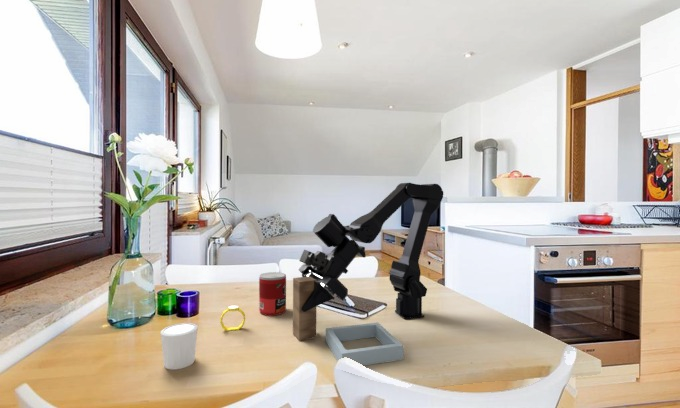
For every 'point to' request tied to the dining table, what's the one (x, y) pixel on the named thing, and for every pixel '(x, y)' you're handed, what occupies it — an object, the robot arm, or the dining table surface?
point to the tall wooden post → (301, 320)
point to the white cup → (179, 345)
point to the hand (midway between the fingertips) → (299, 307)
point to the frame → (369, 355)
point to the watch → (232, 308)
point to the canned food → (272, 293)
